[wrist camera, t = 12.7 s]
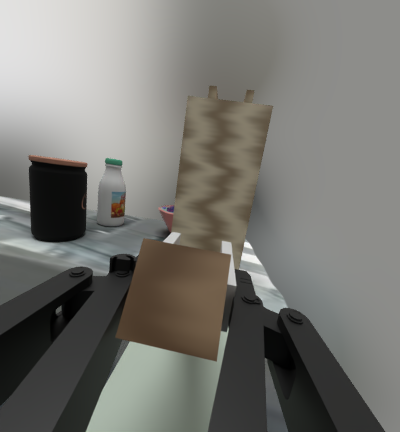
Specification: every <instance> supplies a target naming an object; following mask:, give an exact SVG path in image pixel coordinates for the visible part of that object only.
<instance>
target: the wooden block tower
mask: <svg viewBox="0 0 400 432" xmlns="http://www.w3.org/2000/svg"><path fill="white" fill-rule="evenodd" d="M253 94H254V90H247V92H246V95H245V99H244V102H236V101H228V100H220V99H218V96H217V87H216V86H210V87H209V94H208V98H202V97H194V96H188V100H187V108H186V116H185V124H184V132H183V140H182V148H181V157H180V164H179V173H178V181H177V189H176V197H175V205H174V213H173V221H172V230H171V233H172V232H176V233H181V238H180V245H182V246H188V247H193V248H198V249H204V250H209V251H214V252H220V250H221V244H222V241H226V242H231V245H232V253H233V261H234V269H237V270H239V265H240V261H241V256H242V251H243V246H244V242H245V236H246V232H247V227H248V222H249V218H250V213H251V208H252V204H253V199H254V194H255V189H256V184H257V180H258V175H259V170H260V165H261V160H262V156H263V151H264V147H265V142H266V137H267V132H268V127H269V123H270V118H271V113H272V108H273V106H270V105H261V104H253V103H252V100H253Z"/></svg>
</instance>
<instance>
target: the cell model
mask: <svg viewBox="0 0 400 432" xmlns="http://www.w3.org/2000/svg"><path fill="white" fill-rule="evenodd" d="M159 211H160V213H161V216H162V218H163V220H164V222H165V223H166V225H167V227H168V230H169V232H170V233H171V230H172V221H173V213H174V205H167V206H162V207H159Z"/></svg>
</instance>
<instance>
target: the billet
mask: <svg viewBox="0 0 400 432" xmlns="http://www.w3.org/2000/svg"><path fill="white" fill-rule="evenodd" d="M230 261H231V255H230V254H225V253H220V252H214V251H209V250H204V249H198V248H193V247H188V246H182V245H177V244H171V243H166V242H161V241H155V240H150V239H145V238H144V239H143V242H142V246H141V249H140V253H139V256H138V260H137V263H136V267H135V270H134V274H133V277H132V281H131V284H130V288H129V291H128V295H127V298H126V302H125V305H124V309H123V312H122V316H121V319H120V323H119V326H118V330H117V333H116V337H115V338H119V339H123V340H127V341H131V342H136V343H140V344H144V345H148V346H152V347H157V348H161V349H165V350H169V351H174V352H178V353H182V354H186V355H191V356H195V357H199V358H203V359H208V360H212V361H216V362H217V356H218V348H219V341H220V334H221V326H222V319H223V312H224V305H225V297H226V290H227V283H228V275H229V268H230Z"/></svg>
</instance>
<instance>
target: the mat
mask: <svg viewBox="0 0 400 432" xmlns="http://www.w3.org/2000/svg"><path fill="white" fill-rule="evenodd" d="M228 331H229V328H228V329H227V332H223V331H221V334H220V341H219V348H218V356H217V362H216V361H212V360H208V359H203V358H199V357H195V356H191V355H186V354H182V353H178V352H174V351H169V350H165V349H161V348H157V347H152V346H148V345H144V344H140V343H136V342H131V341H130V343H129V345H128V346H127V348H126V350H125V352H124V353H123V355H122V357H121V359H120V360H119V362H118V364H117V366H116V367H115V369H114V371H113V373H112V374H111V376H110V378H109V380H108V381H107V383H106V385H105V387H104V388H103V390H102V392H101V395H100V397H99V400H98V402H97V405H96V407H95V410H94V412H93V415H92V417H91V420H90V422H89V425H88V427H87V430H86V432H208V427H209V422H210V418H211V413H212V408H213V403H214V398H215V393H216V389H217V384H218V379H219V374H220V369H221V364H222V360H223V355H224V350H225V345H226V340H227V335H228Z"/></svg>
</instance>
